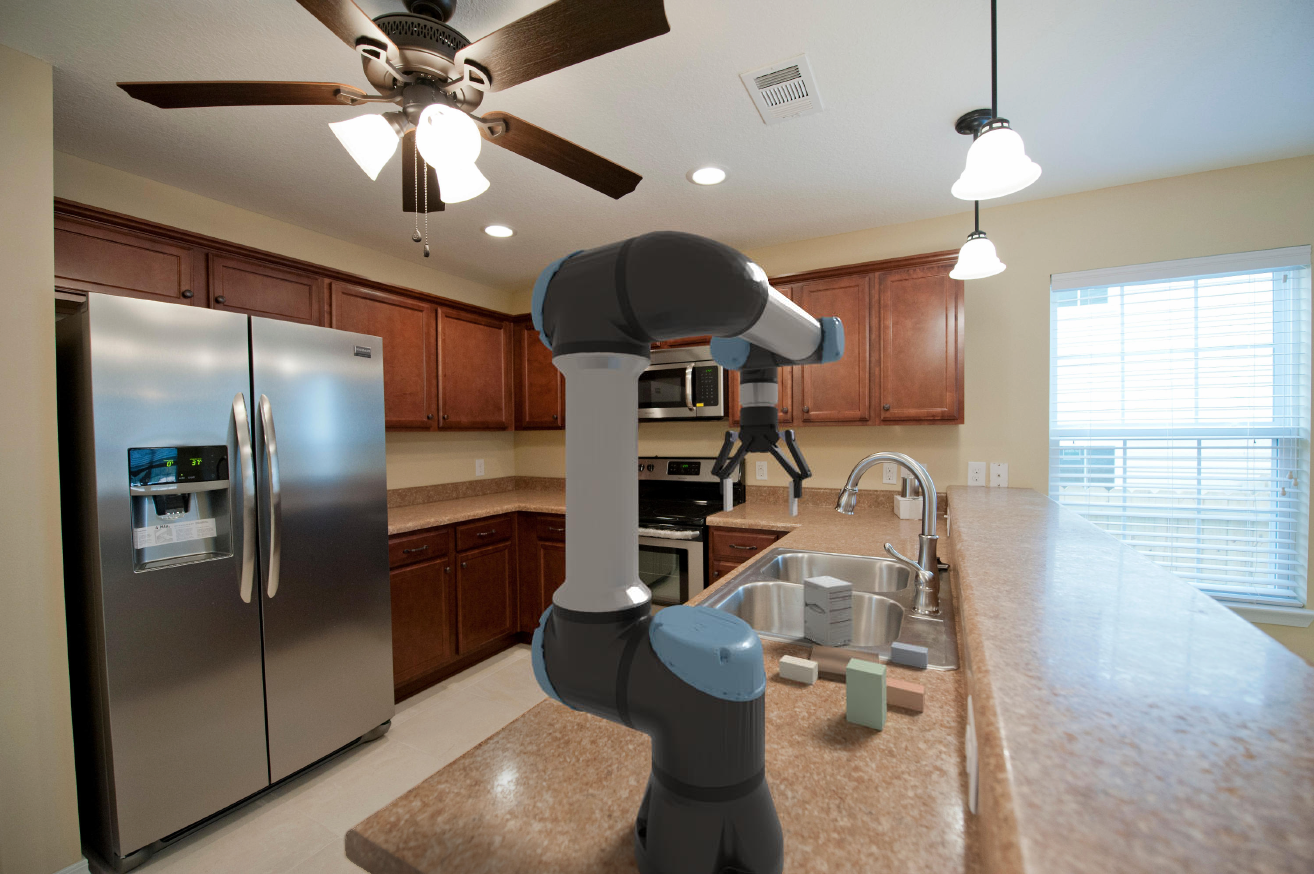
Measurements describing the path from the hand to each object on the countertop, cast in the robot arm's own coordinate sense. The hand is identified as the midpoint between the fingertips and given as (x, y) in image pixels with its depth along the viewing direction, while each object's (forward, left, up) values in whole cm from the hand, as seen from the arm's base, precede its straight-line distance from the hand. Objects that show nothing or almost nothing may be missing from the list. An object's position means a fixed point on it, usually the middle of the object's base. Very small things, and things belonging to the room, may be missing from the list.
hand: (759, 513), depth 102 cm
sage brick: (-14, -22, -28) cm, 39 cm away
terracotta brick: (-6, -26, -28) cm, 39 cm away
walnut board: (+3, -15, -28) cm, 32 cm away
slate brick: (+12, -25, -28) cm, 40 cm away
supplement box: (+15, -9, -28) cm, 33 cm away
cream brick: (-6, -9, -28) cm, 30 cm away
